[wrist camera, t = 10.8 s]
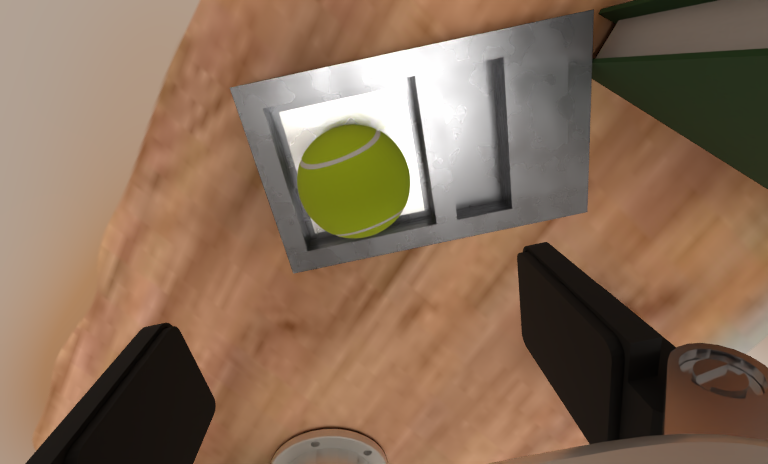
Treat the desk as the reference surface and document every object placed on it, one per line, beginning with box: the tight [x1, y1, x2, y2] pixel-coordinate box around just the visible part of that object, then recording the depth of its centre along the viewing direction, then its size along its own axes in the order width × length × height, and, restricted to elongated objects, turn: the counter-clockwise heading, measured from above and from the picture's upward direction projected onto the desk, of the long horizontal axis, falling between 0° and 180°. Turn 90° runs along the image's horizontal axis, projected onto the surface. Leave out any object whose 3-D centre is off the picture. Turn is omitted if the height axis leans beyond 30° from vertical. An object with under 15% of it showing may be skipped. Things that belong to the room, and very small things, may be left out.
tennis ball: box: [297, 124, 410, 238], centre depth 23 cm, size 7×7×7 cm
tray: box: [230, 10, 594, 273], centre depth 26 cm, size 13×22×3 cm, turn 101°
